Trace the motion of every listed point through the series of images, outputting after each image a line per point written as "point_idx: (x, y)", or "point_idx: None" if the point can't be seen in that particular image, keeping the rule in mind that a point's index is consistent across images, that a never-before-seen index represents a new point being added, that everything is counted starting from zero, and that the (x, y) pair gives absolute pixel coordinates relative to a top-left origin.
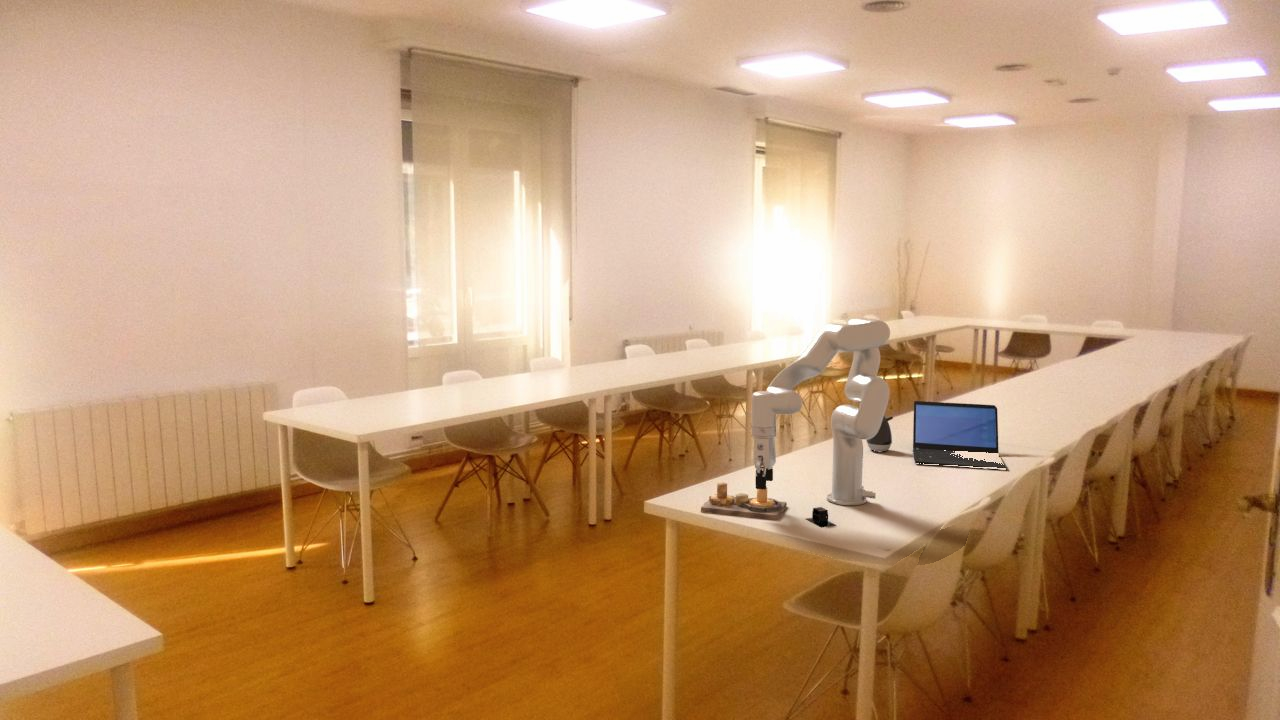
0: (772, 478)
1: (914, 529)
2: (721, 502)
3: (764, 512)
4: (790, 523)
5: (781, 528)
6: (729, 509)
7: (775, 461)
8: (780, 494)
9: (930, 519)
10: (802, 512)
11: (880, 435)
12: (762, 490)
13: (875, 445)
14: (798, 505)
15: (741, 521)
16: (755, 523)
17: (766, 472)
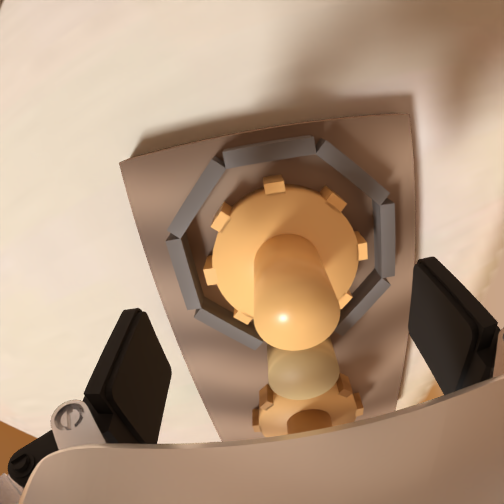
0: (132, 319)
1: None
2: (354, 400)
3: (391, 194)
4: (410, 38)
5: (486, 69)
6: (397, 348)
7: (63, 463)
8: (2, 268)
9: None
10: (182, 38)
11: None
12: (335, 294)
13: None
14: (74, 118)
15: (465, 256)
16: (473, 194)
17: (145, 404)
